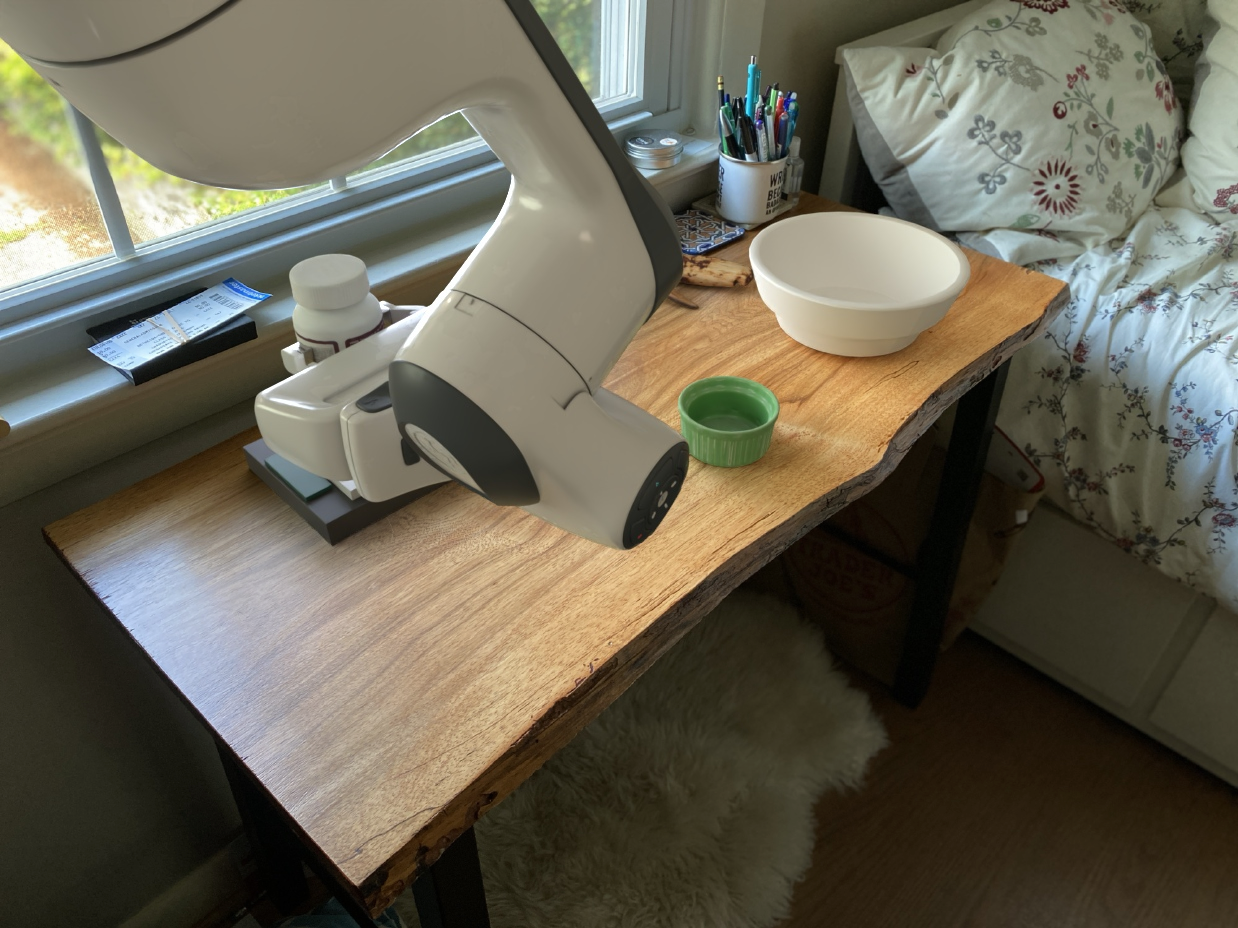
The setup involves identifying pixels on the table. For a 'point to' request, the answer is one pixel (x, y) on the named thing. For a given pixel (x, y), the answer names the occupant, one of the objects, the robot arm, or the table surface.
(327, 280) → the pill bottle
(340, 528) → the scale
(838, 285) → the bowl
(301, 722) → the table surface
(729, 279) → the lashed bone hook
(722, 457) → the ramekin
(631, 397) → the table surface
